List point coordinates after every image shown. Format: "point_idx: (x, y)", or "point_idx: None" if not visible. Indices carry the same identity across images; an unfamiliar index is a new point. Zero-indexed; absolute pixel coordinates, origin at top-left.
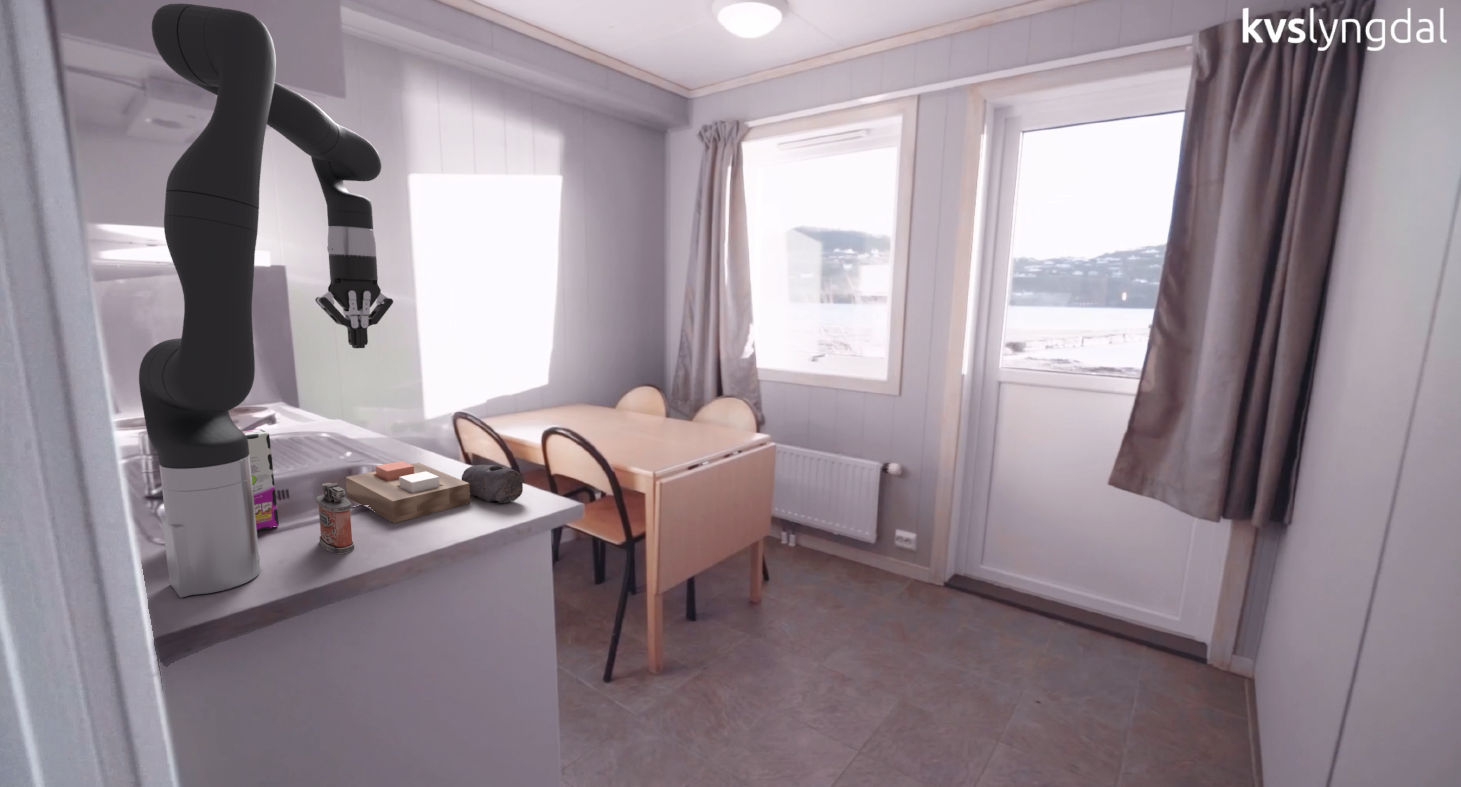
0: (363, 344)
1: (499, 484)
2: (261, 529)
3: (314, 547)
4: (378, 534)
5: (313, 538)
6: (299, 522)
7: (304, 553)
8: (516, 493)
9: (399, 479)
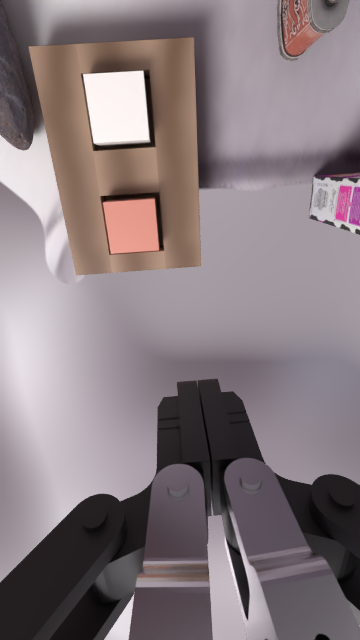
0: (185, 387)
1: None
2: (335, 174)
3: None
4: (229, 9)
5: (302, 79)
6: (286, 179)
7: None
8: None
9: (149, 140)
